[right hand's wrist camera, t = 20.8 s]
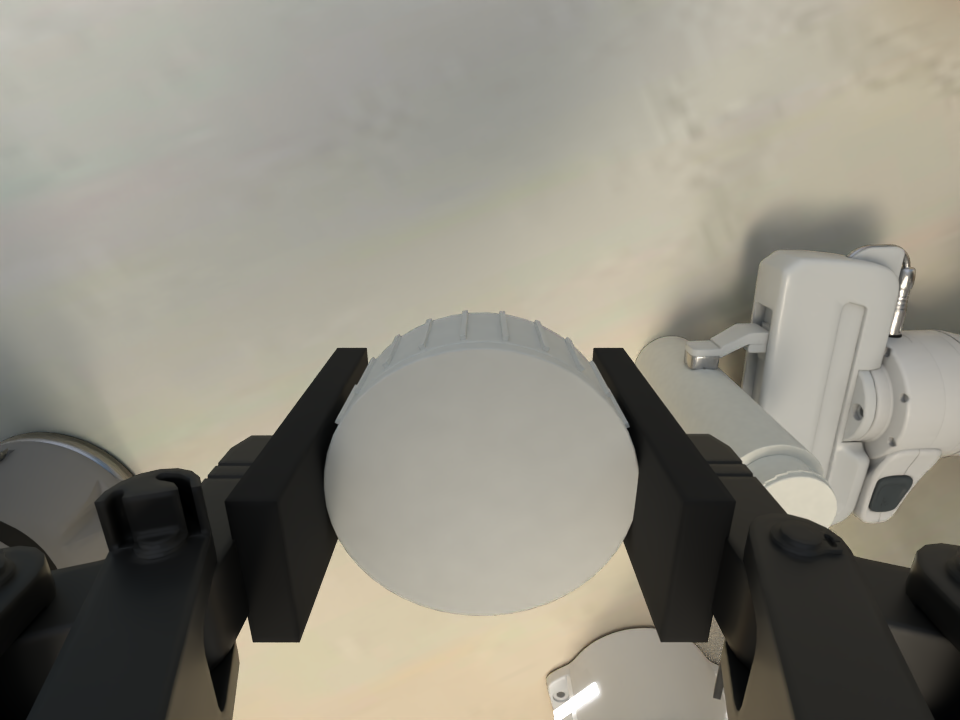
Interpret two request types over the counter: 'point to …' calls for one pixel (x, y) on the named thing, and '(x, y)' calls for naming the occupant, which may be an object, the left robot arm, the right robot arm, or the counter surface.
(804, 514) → the bottle
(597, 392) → the lid
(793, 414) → the left robot arm
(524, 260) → the counter surface
